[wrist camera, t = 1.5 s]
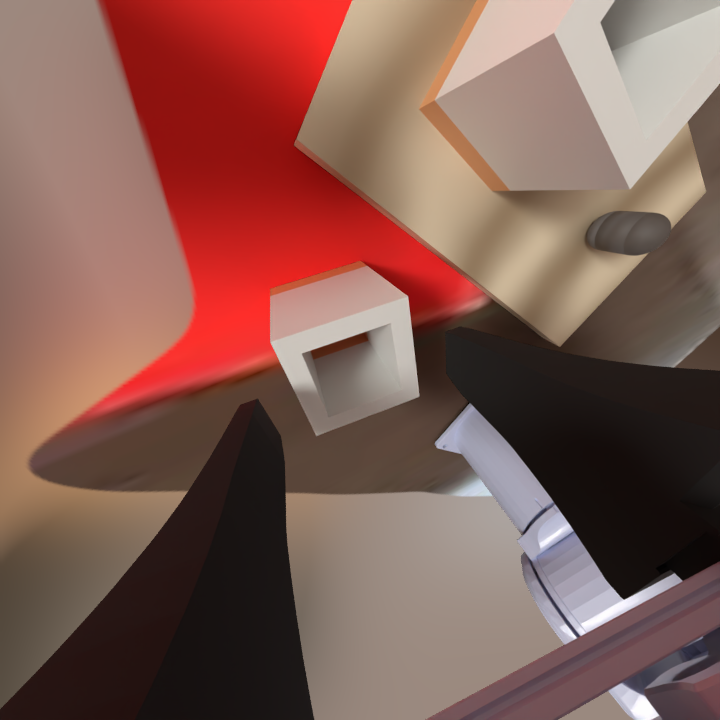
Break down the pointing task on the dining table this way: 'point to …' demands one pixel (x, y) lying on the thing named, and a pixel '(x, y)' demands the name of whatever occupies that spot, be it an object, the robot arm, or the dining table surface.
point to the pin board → (465, 188)
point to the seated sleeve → (573, 88)
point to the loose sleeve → (344, 344)
